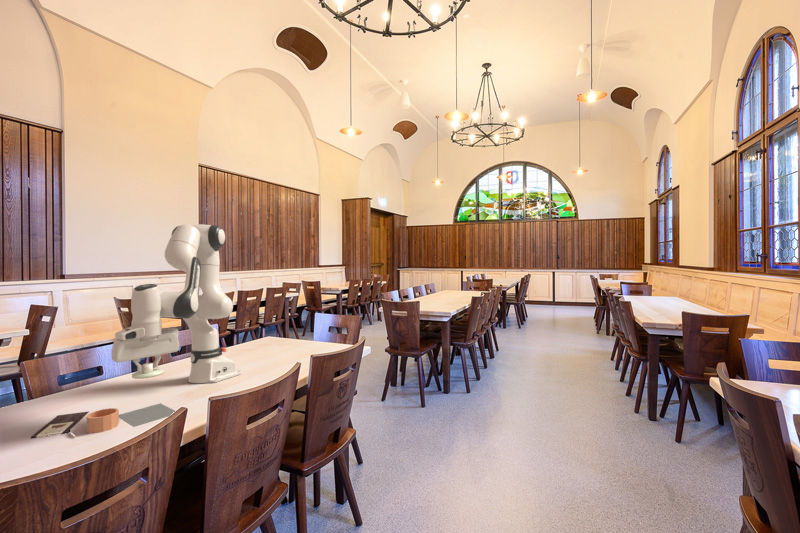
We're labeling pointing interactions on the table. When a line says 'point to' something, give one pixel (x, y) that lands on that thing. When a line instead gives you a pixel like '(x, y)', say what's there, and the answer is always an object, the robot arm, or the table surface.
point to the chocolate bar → (60, 424)
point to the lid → (147, 372)
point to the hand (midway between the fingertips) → (147, 369)
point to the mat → (146, 414)
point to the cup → (102, 420)
